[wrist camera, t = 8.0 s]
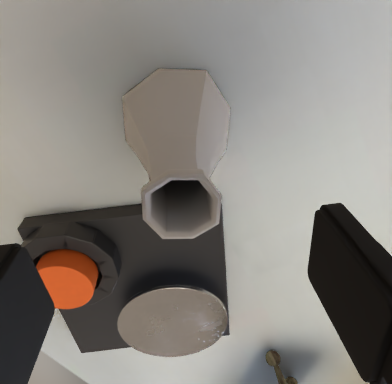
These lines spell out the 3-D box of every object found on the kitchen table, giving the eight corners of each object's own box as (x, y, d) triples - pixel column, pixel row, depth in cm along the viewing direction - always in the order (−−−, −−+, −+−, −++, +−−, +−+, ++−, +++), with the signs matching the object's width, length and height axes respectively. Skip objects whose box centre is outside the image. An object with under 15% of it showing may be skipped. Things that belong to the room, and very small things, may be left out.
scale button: (28, 252, 22) (17, 270, 20) (89, 245, 22) (83, 262, 20) (49, 293, 24) (41, 312, 23) (104, 287, 24) (100, 305, 23)
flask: (102, 85, 19) (46, 153, 10) (216, 49, 18) (257, 88, 10) (145, 182, 22) (130, 291, 14) (241, 155, 22) (285, 251, 13)
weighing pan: (105, 291, 24) (104, 295, 23) (224, 277, 24) (225, 281, 24) (130, 358, 29) (130, 362, 28) (229, 346, 29) (229, 350, 29)
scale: (15, 216, 23) (-4, 243, 21) (219, 193, 23) (225, 216, 21) (78, 341, 32) (70, 370, 29) (227, 322, 32) (232, 350, 29)
